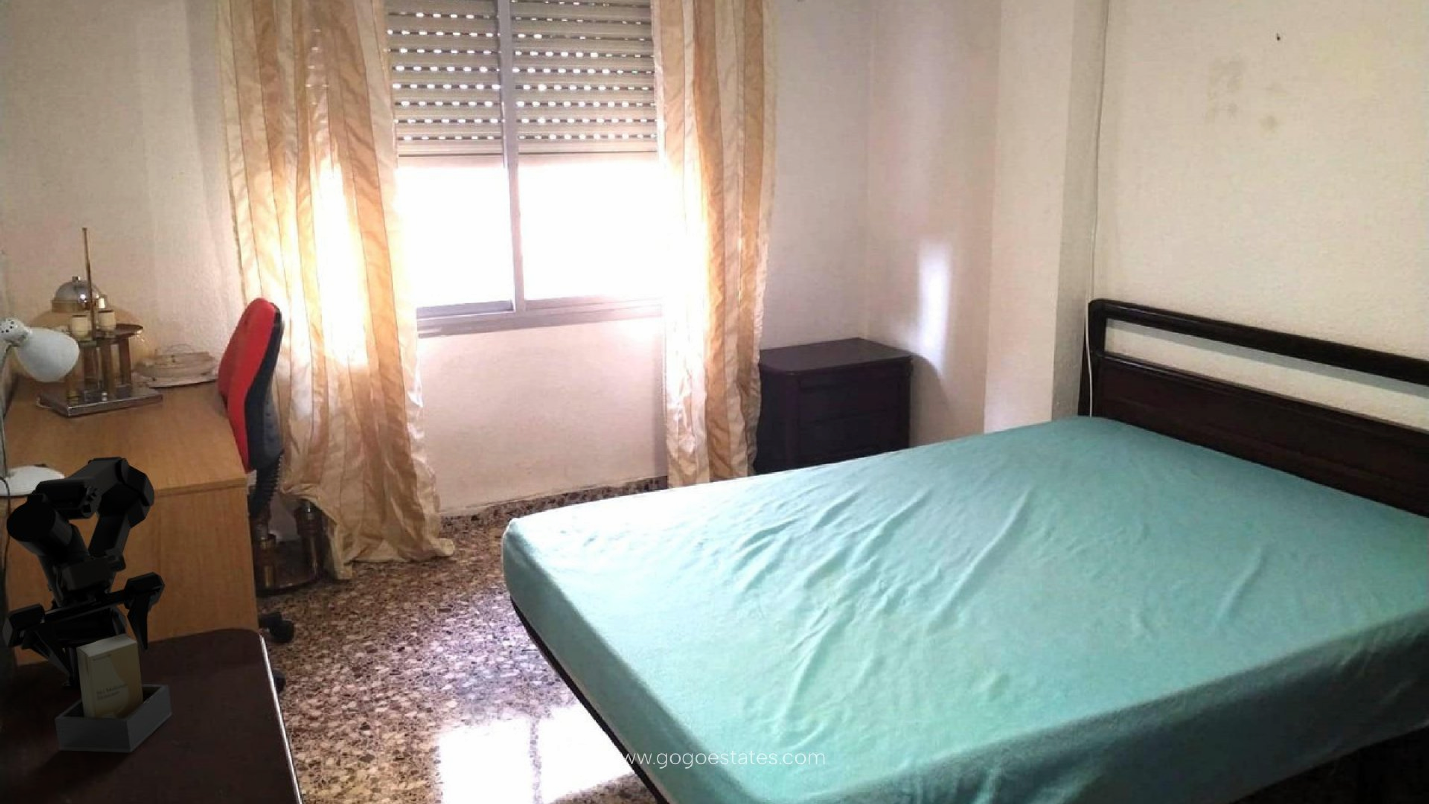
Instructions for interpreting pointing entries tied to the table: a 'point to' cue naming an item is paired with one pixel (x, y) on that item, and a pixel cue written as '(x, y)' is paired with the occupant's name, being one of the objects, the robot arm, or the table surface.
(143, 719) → the grey open tray
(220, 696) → the table surface
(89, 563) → the robot arm
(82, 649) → the skincare box
